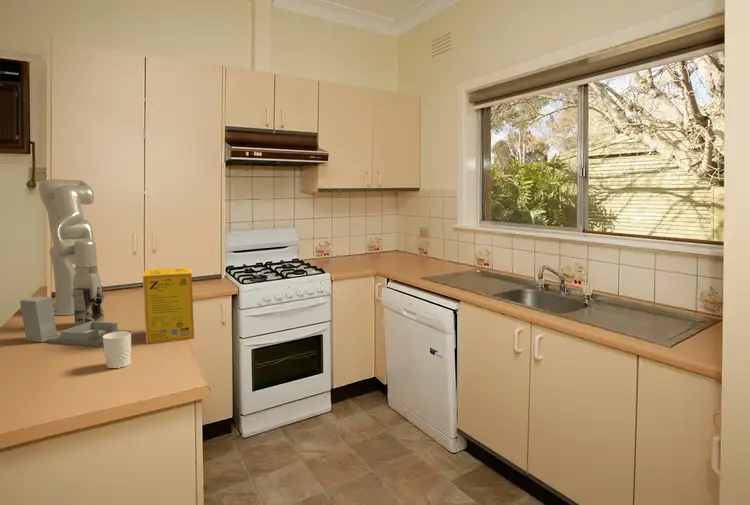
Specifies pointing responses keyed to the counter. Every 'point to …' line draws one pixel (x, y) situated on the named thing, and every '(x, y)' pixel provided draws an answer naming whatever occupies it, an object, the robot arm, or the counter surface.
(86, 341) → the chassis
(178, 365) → the counter surface
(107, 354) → the white cup
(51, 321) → the skincare box
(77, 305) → the coffee box
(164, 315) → the packaging box
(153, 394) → the counter surface
